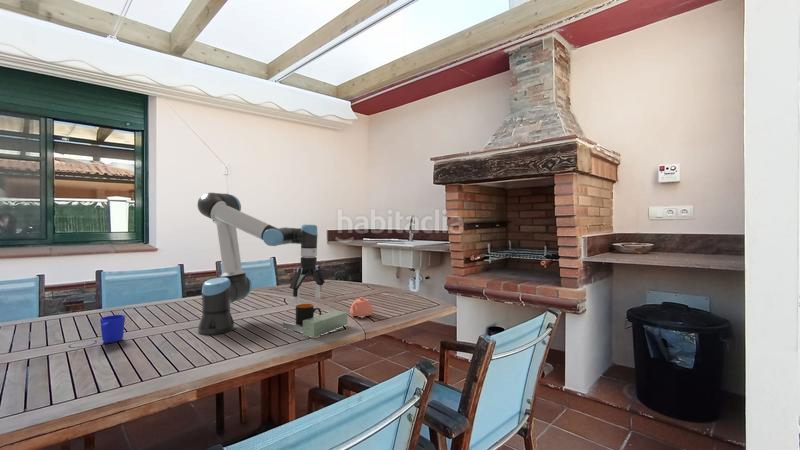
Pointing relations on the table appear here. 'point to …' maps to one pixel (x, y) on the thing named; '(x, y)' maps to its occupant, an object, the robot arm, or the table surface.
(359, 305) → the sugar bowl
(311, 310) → the mug
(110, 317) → the mug
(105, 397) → the table surface
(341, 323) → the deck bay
